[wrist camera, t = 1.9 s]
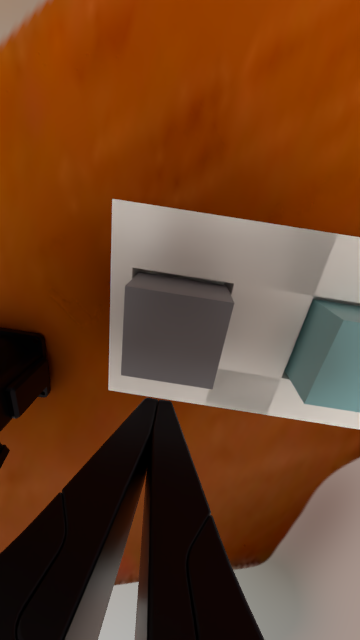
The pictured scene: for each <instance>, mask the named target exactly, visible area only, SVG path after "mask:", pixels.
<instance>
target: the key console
mask: <svg viewBox="0 0 360 640" xmlns="http://www.w3.org/2000/svg"><path fill="white" fill-rule="evenodd" d="M139 272H143V273H150V274H156V275H163V276H169V277H175V278H182V279H188V280H195V281H201V282H207V283H214V284H220V285H226V286H227V288H228V290H229V292H230V295H231V297H232V299H233V301H234V306H233V310H232V314H231V318H230V322H229V326H228V330H227V334H226V338H225V342H224V346H223V350H222V354H221V358H220V362H219V366H218V370H217V374H216V377H215V381H214V385H213V389H206V388H200V387H193V386H187V385H180V384H174V383H168V382H161V381H155V380H148V379H142V378H136V377H129V376H123V375H121V361H122V340H123V318H124V297H125V285H127V284H128V283H129V282H130V281H131V280H132V279H133V278H134V277H135V276H136V275H137V274H138V273H139ZM313 299H316V300H322V301H329V302H335V303H342V304H348V305H354V306H360V237H354V236H348V235H341V234H335V233H328V232H322V231H316V230H309V229H303V228H296V227H290V226H284V225H277V224H271V223H265V222H258V221H252V220H245V219H239V218H233V217H226V216H220V215H213V214H207V213H201V212H194V211H188V210H181V209H175V208H169V207H162V206H156V205H149V204H143V203H137V202H130V201H124V200H117V199H112V235H111V284H110V334H109V384H108V390H111V391H117V392H124V393H130V394H136V395H143V396H149V397H156V398H162V399H168V400H175V401H181V402H188V403H194V404H200V405H207V406H213V407H220V408H226V409H232V410H239V411H245V412H251V413H258V414H264V415H271V416H277V417H283V418H290V419H296V420H303V421H309V422H315V423H322V424H328V425H335V426H341V427H347V428H354V429H360V413H359V412H353V411H347V410H340V409H334V408H327V407H321V406H315V405H308V404H304V403H303V401H302V399H301V398H300V396H299V394H298V393H297V391H296V389H295V387H294V386H293V384H292V382H291V381H290V379H289V377H288V375H287V374H286V372H285V368H286V366H287V363H288V361H289V358H290V356H291V353H292V351H293V348H294V346H295V343H296V341H297V338H298V335H299V333H300V330H301V328H302V325H303V323H304V320H305V318H306V315H307V313H308V310H309V308H310V305H311V303H312V300H313Z"/></svg>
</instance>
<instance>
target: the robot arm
mask: <svg viewBox="0 0 360 640" xmlns="http://www.w3.org/2000/svg"><path fill="white" fill-rule="evenodd" d="M36 339H37V340H38V341H37V340H36ZM49 383H50V378H49V369H48V361H47V358H46V349H45V340H44V337H43V336H42V335H40V334H37V333H30V332H24V331H18V330H11V329H5V328H0V431H1V430H2V429H3V428H4V427H5V426H6V425H7V424H8V423H9V422H10V420H11V419H12V418H18V417H20V416H21V415H22V414H23V413H24V412H25V410H26V409H27V408H28V407H29V406H30V405H31V404H32V403H33V401H34V400H35V399H36V398H37V397H47V395H48V394H49V393H50V385H49ZM9 451H10V450H9V449H8V448H7V447H6V445H2V444H1V443H0V468H1V466H2V464H3V462H4V460H5V459H6V457H7V455H8V453H9ZM146 471H147V474H146ZM145 476H146V484H145V498H144V513H143V527H142V541H141V556H140V570H139V585H138V600H137V614H136V629H135V640H264V638H263V636H262V634H261V631H260V629H259V627H258V625H257V623H256V621H255V619H254V616H253V614H252V612H251V610H250V608H249V606H248V603H247V601H246V599H245V596H244V594H243V592H242V590H241V587H240V585H239V583H238V581H237V578H236V576H235V573H234V571H233V569H232V567H231V564H230V562H229V559H228V556H227V554H226V551H225V549H224V546H223V543H222V541H221V538H220V536H219V533H218V530H217V527H216V524H215V522H214V519H213V516H212V515H210V514H211V511H210V508H209V505H208V503H207V500H206V497H205V494H204V491H203V489H202V486H201V483H200V480H199V477H198V475H197V472H196V469H195V466H194V463H193V461H192V458H191V455H190V452H189V449H188V447H187V444H186V441H185V438H184V435H183V433H182V430H181V427H180V424H179V421H178V419H177V416H176V413H175V410H174V407H173V405H172V403H171V402H170V401H165V400H159V402H158V400H157V399H152V398H145V399H144V400H143V401H142V402H141V404H140V405H139V406H138V407H137V408H136V409H135V410H134V411H133V412H132V413H131V415H130V416H129V417H128V418H127V419H126V420H125V421H124V422H123V423H122V424H121V426H120V427H119V428H118V429H117V430H116V431H115V432H114V433H113V434H112V435H111V437H110V438H109V439H108V440H107V441H106V442H105V443H104V444H103V445H102V446H101V448H100V449H99V450H98V451H97V452H96V453H95V454H94V455H93V456H92V457H91V459H90V460H89V461H88V462H87V463H86V464H85V465H84V466H83V467H82V468H81V469H80V471H79V472H78V473H77V474H76V475H75V476H74V477H73V478H72V479H71V480H70V482H69V483H68V484H67V485H66V486H65V487H64V488H63V490H62V493H61V492H60V493H58V495H57V496H56V497H55V498H54V499H53V500H52V501H51V502H50V503H49V505H48V506H47V507H46V508H45V509H44V510H43V511H42V512H41V513H40V514H39V515H38V516H37V517H36V518H35V519H34V520H33V522H32V523H31V524H30V525H29V526H28V527H27V528H26V529H25V530H24V531H23V532H22V533H21V534H20V535H19V536H18V537H17V538H16V539H15V540H14V541H13V542H12V543H11V544H10V545H9V546H8V547H7V548H6V549H5V550H4V551H3V552H1V553H0V640H98V636H99V634H100V630H101V627H102V623H103V620H104V616H105V613H106V610H107V606H108V603H109V599H110V596H111V592H112V589H113V586H114V582H115V579H116V576H117V572H118V569H119V565H120V562H121V559H122V555H123V552H124V548H125V545H126V542H127V538H128V535H129V531H130V528H131V525H132V521H133V518H134V514H135V511H136V508H137V504H138V501H139V497H140V494H141V490H142V487H143V484H144V480H145Z"/></svg>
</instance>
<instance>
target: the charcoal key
mask: <svg viewBox="0 0 360 640" xmlns="http://www.w3.org/2000/svg"><path fill="white" fill-rule="evenodd" d="M233 306H234V301H233V299H232V297H231V295H230V292H229V290H228V288H227V286H226V285H220V284H214V283H207V282H201V281H195V280H188V279H182V278H175V277H169V276H163V275H156V274H150V273H143V272H139V273H138V274H137V275H136V276H135V277H134V278H133V279H132V280H131V281H130V282H129V283H128V284H127V285H125V297H124V318H123V340H122V361H121V375H123V376H129V377H136V378H142V379H148V380H155V381H161V382H168V383H174V384H180V385H187V386H193V387H200V388H206V389H213V385H214V381H215V377H216V374H217V370H218V366H219V362H220V358H221V354H222V350H223V346H224V342H225V338H226V334H227V330H228V326H229V322H230V318H231V314H232V310H233Z"/></svg>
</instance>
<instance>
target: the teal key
mask: <svg viewBox="0 0 360 640" xmlns="http://www.w3.org/2000/svg"><path fill="white" fill-rule="evenodd" d="M285 372H286V374H287V375H288V377H289V379H290V381H291V382H292V384H293V386H294V387H295V389H296V391H297V393H298V394H299V396H300V398H301V399H302V401H303V403H304V404H308V405H315V406H321V407H327V408H334V409H340V410H347V411H353V412H359V413H360V306H354V305H348V304H342V303H335V302H329V301H322V300H316V299H313V300H312V303H311V305H310V308H309V310H308V313H307V315H306V318H305V320H304V323H303V325H302V328H301V330H300V333H299V335H298V338H297V341H296V343H295V346H294V348H293V351H292V353H291V356H290V358H289V361H288V363H287V366H286V368H285Z"/></svg>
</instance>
